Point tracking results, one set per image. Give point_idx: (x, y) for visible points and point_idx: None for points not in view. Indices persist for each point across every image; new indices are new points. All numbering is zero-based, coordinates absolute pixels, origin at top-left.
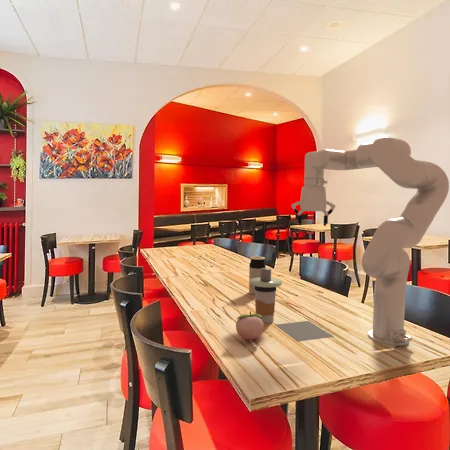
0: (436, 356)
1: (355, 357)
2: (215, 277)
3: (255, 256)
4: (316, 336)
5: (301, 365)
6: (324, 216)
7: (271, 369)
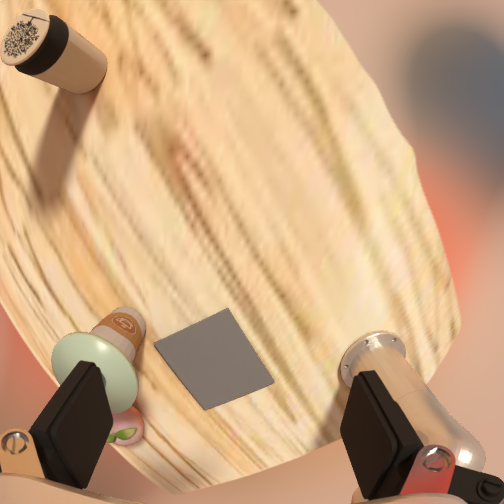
0: None
1: (292, 432)
2: None
3: (19, 19)
4: (239, 388)
5: (213, 457)
6: (366, 498)
7: (177, 465)
